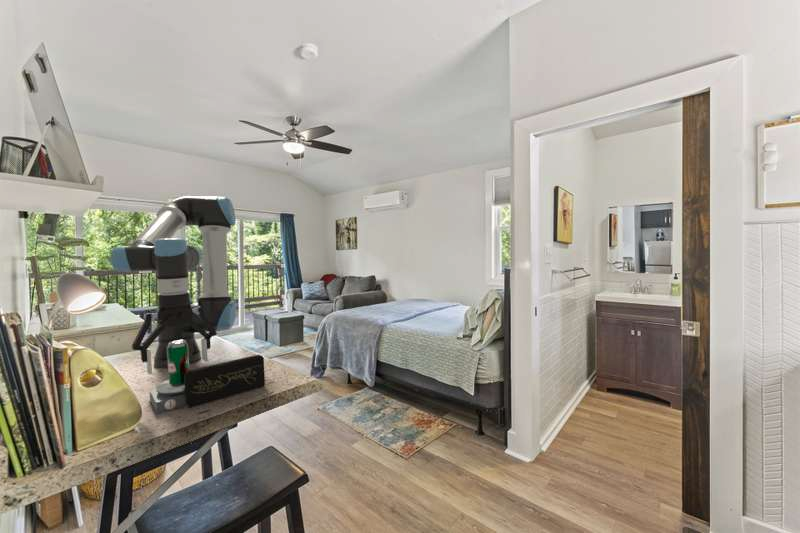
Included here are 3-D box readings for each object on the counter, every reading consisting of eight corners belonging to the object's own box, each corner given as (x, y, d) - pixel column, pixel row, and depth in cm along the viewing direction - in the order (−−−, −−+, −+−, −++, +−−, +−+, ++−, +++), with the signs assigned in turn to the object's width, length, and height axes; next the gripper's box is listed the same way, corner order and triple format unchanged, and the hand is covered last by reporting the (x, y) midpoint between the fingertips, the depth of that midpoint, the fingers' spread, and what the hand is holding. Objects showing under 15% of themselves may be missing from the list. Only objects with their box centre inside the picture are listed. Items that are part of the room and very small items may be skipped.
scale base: (150, 400, 98) (149, 390, 97) (200, 386, 107) (200, 377, 106) (157, 414, 89) (156, 403, 89) (211, 397, 98) (211, 387, 98)
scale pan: (153, 388, 98) (153, 382, 98) (196, 377, 106) (196, 372, 106) (160, 400, 90) (160, 394, 90) (206, 387, 98) (206, 382, 98)
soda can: (166, 383, 98) (163, 342, 97) (186, 377, 101) (183, 338, 101) (172, 387, 94) (170, 345, 93) (192, 381, 98) (190, 341, 97)
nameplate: (262, 384, 108) (261, 353, 107) (265, 386, 106) (263, 355, 105) (186, 406, 94) (183, 371, 93) (187, 409, 92) (185, 373, 92)
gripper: (118, 300, 85) (124, 382, 86) (225, 289, 102) (229, 358, 103) (115, 297, 90) (121, 374, 92) (217, 287, 107) (221, 352, 109)
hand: (178, 366), depth 97 cm, fingers open, 13 cm apart
